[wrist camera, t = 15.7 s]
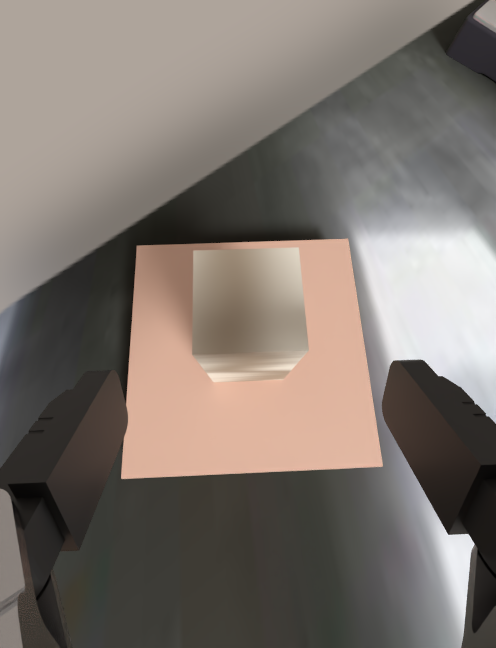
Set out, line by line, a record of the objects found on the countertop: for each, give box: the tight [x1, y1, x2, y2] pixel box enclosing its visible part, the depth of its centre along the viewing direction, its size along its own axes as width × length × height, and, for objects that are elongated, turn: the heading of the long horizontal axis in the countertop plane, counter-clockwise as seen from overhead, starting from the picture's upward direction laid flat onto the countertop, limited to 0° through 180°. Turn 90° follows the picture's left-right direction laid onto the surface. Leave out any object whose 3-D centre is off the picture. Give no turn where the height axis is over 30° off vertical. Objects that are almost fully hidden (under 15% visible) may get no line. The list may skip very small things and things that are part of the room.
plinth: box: [121, 239, 383, 479], centre depth 23 cm, size 16×16×3 cm
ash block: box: [192, 247, 309, 382], centre depth 18 cm, size 5×5×9 cm
